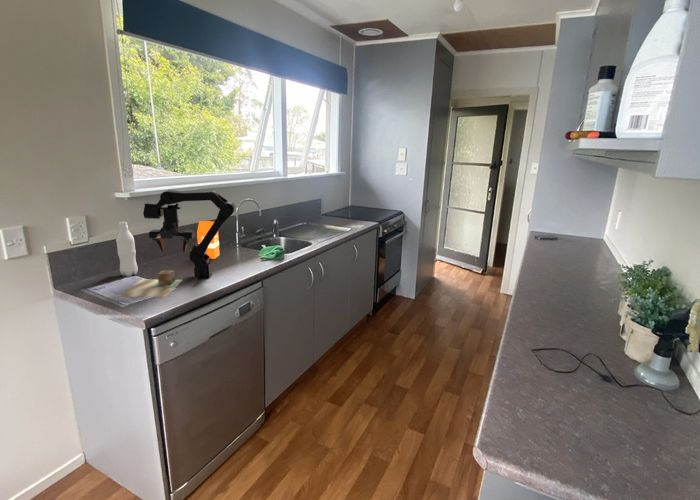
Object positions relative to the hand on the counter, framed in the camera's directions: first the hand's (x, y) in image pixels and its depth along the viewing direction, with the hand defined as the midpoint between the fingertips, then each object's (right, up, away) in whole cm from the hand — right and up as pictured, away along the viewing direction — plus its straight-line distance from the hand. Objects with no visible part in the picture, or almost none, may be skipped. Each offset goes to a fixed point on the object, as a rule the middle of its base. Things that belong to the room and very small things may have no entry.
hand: (173, 252), depth 169 cm
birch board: (-3, -16, -13) cm, 20 cm away
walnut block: (+1, -13, -8) cm, 15 cm away
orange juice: (+2, -3, +36) cm, 37 cm away
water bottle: (-23, -11, +4) cm, 25 cm away
